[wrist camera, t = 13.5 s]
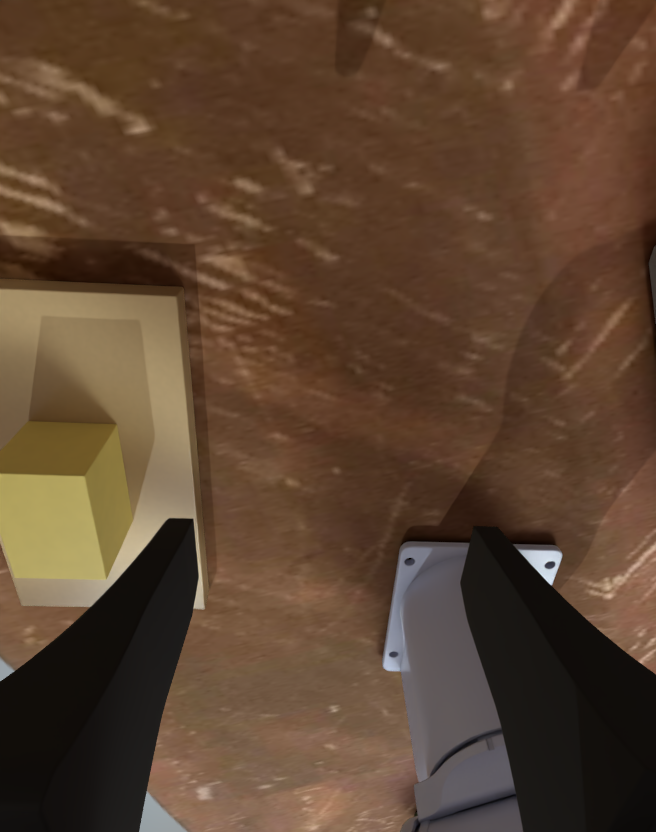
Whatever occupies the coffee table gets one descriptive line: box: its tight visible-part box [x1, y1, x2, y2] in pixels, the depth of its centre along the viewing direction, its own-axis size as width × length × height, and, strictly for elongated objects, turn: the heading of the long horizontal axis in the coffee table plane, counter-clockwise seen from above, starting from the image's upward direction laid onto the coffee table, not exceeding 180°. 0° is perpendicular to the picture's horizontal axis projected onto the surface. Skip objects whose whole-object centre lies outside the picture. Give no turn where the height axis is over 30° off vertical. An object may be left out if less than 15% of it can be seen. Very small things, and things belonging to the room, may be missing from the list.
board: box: [0, 279, 209, 609], centre depth 23 cm, size 16×9×1 cm, turn 177°
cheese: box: [0, 421, 133, 580], centre depth 21 cm, size 5×4×4 cm
